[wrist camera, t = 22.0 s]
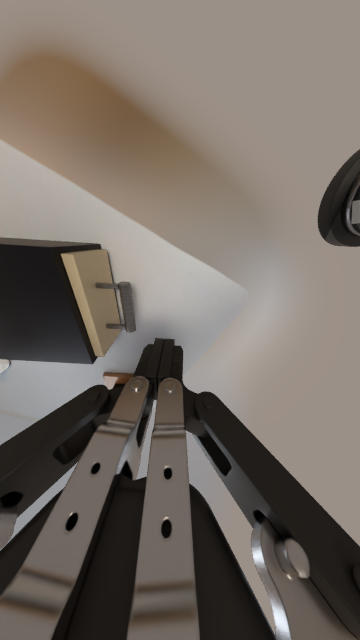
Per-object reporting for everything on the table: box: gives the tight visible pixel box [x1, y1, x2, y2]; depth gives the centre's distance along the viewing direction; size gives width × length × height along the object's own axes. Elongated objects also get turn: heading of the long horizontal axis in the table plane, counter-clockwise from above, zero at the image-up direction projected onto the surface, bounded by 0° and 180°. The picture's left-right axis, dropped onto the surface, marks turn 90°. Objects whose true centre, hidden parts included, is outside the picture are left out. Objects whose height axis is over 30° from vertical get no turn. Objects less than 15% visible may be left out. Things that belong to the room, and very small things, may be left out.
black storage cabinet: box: [0, 238, 101, 364], centre depth 19 cm, size 15×15×9 cm
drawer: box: [60, 249, 136, 357], centre depth 19 cm, size 18×13×7 cm
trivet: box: [103, 373, 134, 390], centre depth 35 cm, size 10×10×1 cm
